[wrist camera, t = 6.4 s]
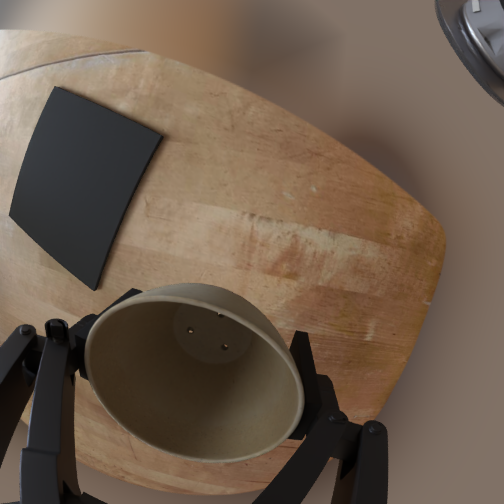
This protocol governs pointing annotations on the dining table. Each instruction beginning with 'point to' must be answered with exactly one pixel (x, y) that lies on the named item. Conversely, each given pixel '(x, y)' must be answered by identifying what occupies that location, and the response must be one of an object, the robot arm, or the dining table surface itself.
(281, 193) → the dining table surface
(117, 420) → the flower pot
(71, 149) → the mat
